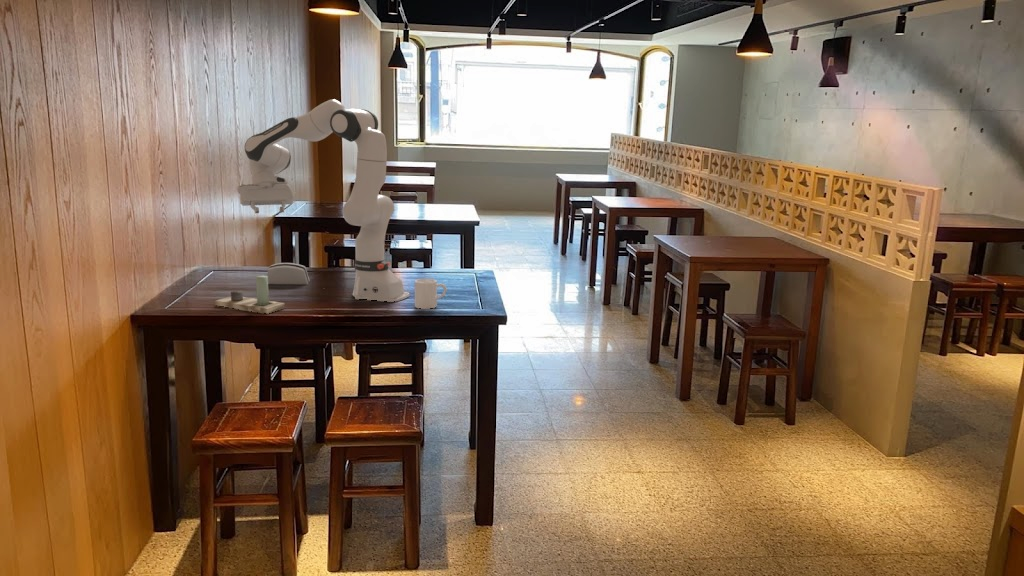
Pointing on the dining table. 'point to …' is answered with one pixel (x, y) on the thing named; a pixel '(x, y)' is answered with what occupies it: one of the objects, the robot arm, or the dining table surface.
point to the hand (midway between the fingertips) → (269, 212)
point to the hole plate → (248, 303)
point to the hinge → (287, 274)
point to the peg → (262, 290)
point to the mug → (427, 293)
